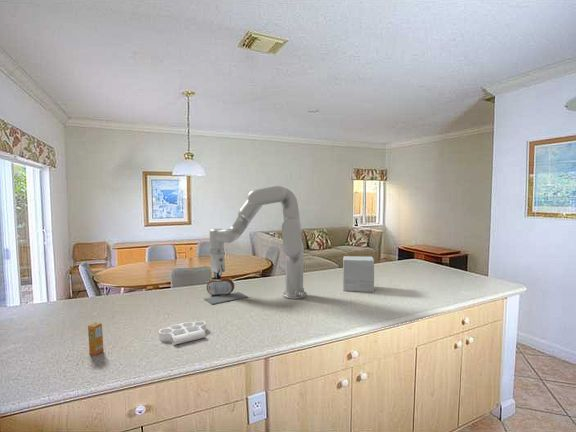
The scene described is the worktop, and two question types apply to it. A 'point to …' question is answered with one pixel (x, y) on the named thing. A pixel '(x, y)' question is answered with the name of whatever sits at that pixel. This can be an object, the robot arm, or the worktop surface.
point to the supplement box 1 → (95, 338)
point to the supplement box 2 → (358, 273)
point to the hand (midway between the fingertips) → (217, 284)
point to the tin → (220, 286)
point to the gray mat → (225, 298)
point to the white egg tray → (183, 332)
